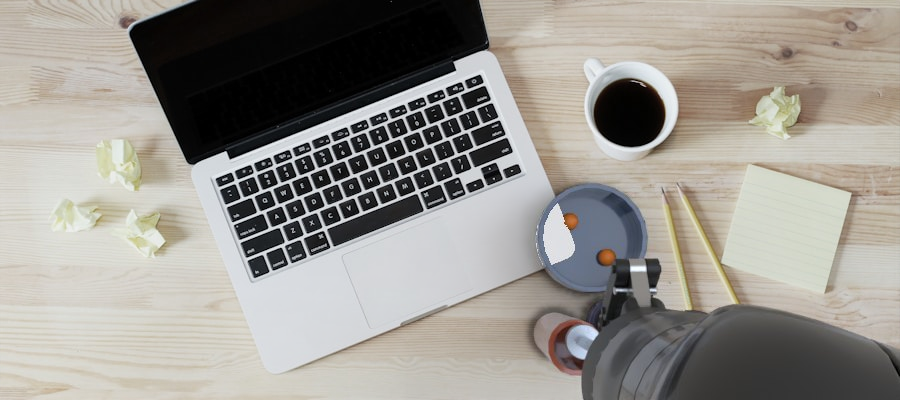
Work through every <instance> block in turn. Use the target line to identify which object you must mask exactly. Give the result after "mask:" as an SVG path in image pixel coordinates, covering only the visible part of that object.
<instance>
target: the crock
mask: <svg viewBox="0 0 900 400" xmlns="http://www.w3.org/2000/svg"><path fill="white" fill-rule="evenodd" d="M577 324H587V325H589V326H592V327H593V328H595V327H594V326H593V325H592V324H590V323H588V322H586V320H582V319H580V318H576V317H574V316H569V315H566V314H565V313H560V312H548V313H546V314H544V315H542V316H541V317H540V318H539V319H537V321H536V323H535V325H534V326H533V327H534V328H533V339H534V342H535V345H536V346H537V348H538V349H539V350H540V351H541V352H542V353H543V354H544V356H545V357H546V358H547V359H548V360H549V361H550V363H552V364H553V365H554V366H555V367H556V368H557V369H558V371H559V372H561V373H564V374H566V375H569V376H580V377H581V376H582V368H583V363H584V360H582V359H578V358H576V357H574V356H573V355H572V354H570V353H569V351H568V350H567V348H566V345H565V337H566V334H567V332H568V330H569V329H570V328H571V327H573V326H575V325H577ZM595 329H596V328H595ZM596 330H597V329H596ZM597 331H598V330H597ZM598 333H599V331H598Z"/></svg>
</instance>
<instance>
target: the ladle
mask: <svg viewBox="0 0 900 400" xmlns="http://www.w3.org/2000/svg"><path fill="white" fill-rule="evenodd" d="M598 334H599V333H598V331H597V330H596V329H595V328H593V327H592V326H589V325H587V324H577V325H575V326H573V327H571V328H570V329H569V330H568V332H567V334H566V337H565V345H566V348H567V350H568V351H569V353H570V354H572V355H573V356H574V357H576V358H578V359H582V360H585V357H586V354H587V352H588V349H589V347H590V346H591V344H592V342H593V341H594V339H595V338H596V336H597V335H598Z"/></svg>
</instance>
